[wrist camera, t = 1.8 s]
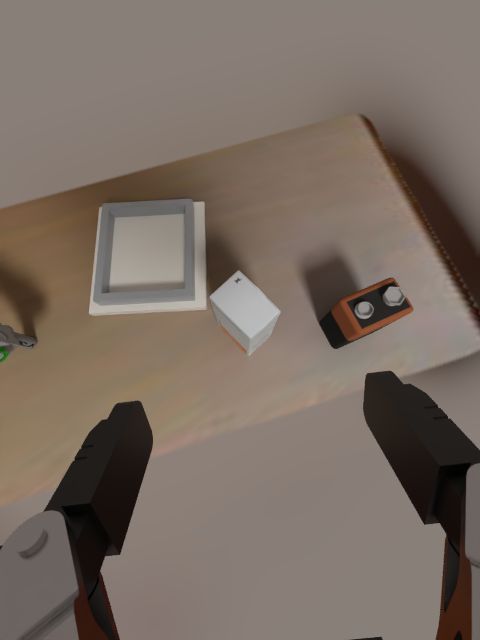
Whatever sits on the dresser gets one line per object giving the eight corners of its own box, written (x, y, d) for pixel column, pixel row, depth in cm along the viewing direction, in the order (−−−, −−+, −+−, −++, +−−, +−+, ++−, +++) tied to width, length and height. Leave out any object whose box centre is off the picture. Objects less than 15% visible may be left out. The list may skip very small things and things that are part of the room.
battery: (377, 330, 38) (422, 307, 28) (333, 350, 37) (363, 333, 28) (360, 302, 39) (398, 271, 29) (317, 322, 38) (341, 296, 29)
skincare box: (217, 326, 38) (206, 295, 27) (240, 306, 39) (238, 267, 28) (248, 358, 37) (250, 340, 26) (271, 337, 38) (283, 309, 26)
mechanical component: (16, 312, 39) (-57, 284, 30) (64, 358, 38) (2, 344, 28) (-1, 328, 39) (-81, 305, 29) (47, 376, 37) (-22, 367, 27)
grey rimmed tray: (92, 315, 39) (80, 308, 36) (102, 211, 44) (92, 198, 41) (207, 309, 39) (204, 302, 36) (205, 205, 44) (202, 192, 41)
